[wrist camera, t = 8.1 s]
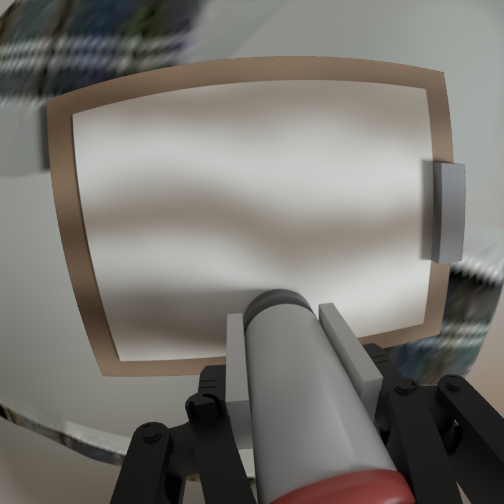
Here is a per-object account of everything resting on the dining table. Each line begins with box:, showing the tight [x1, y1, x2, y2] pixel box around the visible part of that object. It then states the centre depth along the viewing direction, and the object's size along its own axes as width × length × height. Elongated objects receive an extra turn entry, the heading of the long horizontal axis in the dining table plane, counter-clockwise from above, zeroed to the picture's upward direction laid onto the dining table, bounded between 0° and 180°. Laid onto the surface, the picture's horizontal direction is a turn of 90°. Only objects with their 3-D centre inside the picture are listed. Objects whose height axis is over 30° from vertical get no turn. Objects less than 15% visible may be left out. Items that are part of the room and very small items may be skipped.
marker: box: [243, 289, 416, 504], centre depth 11 cm, size 4×4×13 cm
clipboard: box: [47, 56, 466, 377], centre depth 16 cm, size 18×24×3 cm
